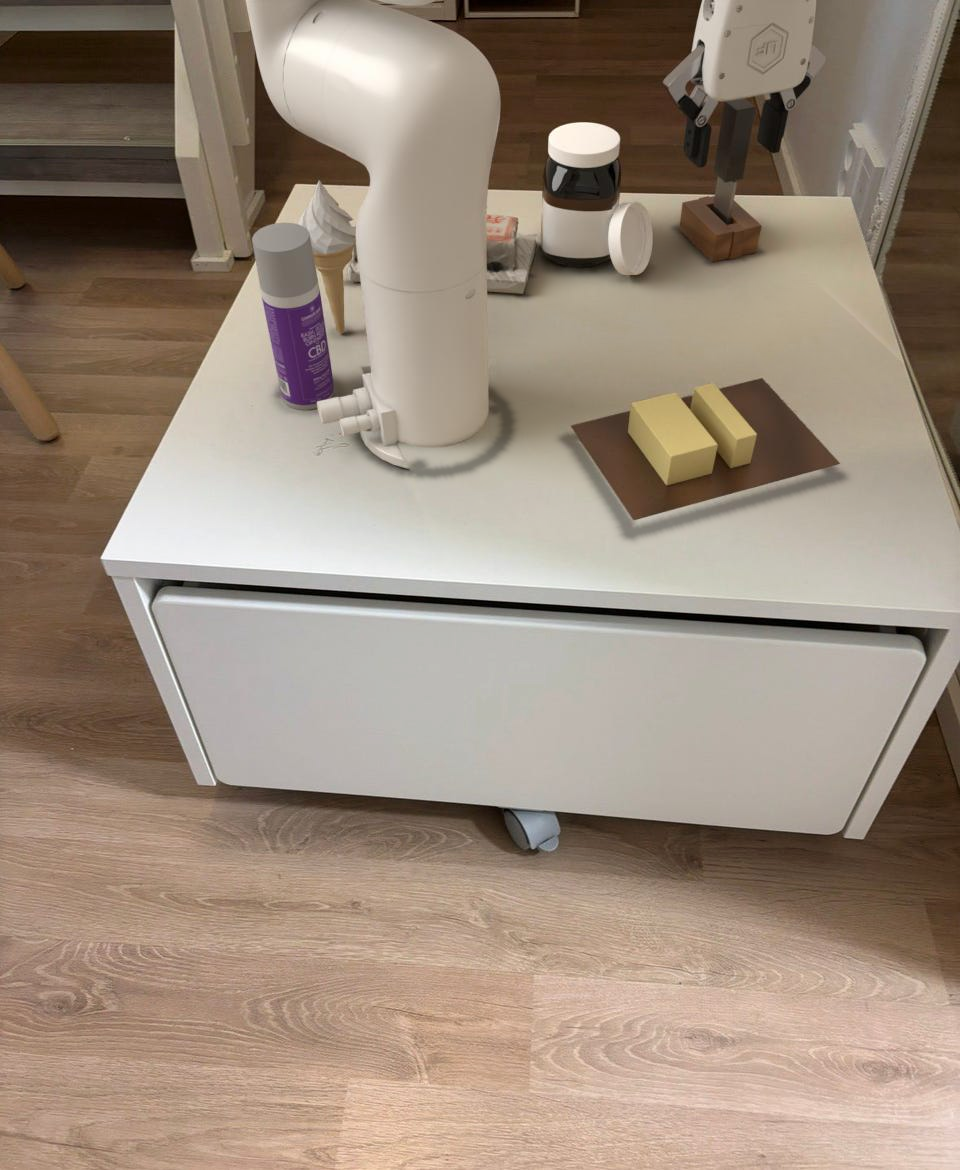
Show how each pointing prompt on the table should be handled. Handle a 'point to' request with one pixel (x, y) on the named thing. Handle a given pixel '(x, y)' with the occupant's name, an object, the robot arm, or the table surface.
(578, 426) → the board
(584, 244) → the spread jar
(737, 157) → the knife
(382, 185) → the robot arm
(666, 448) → the butter block
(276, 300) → the container
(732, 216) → the knife block
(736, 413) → the butter slice
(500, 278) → the packaged product
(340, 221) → the ice cream cone
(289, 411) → the table surface
